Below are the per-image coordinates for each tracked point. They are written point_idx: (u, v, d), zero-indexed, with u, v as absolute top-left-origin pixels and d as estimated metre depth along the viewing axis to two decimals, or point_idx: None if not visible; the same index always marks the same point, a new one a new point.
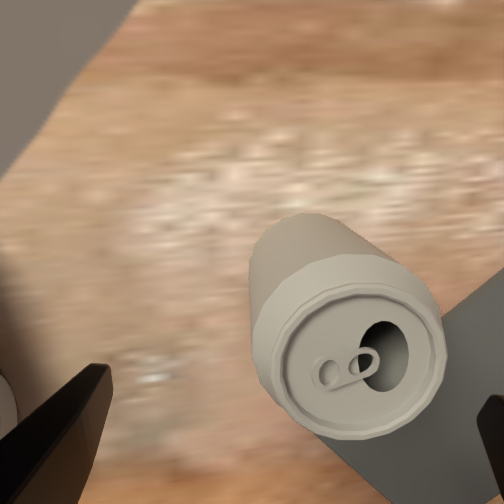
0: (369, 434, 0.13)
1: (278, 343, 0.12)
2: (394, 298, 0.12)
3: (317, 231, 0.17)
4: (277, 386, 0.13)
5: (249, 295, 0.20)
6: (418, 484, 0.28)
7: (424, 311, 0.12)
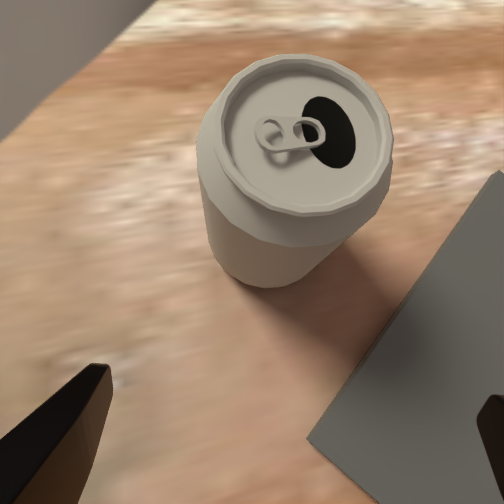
0: (334, 202, 0.11)
1: (216, 107, 0.12)
2: (319, 62, 0.13)
3: None
4: (221, 151, 0.12)
5: (206, 224, 0.19)
6: None
7: (351, 72, 0.13)
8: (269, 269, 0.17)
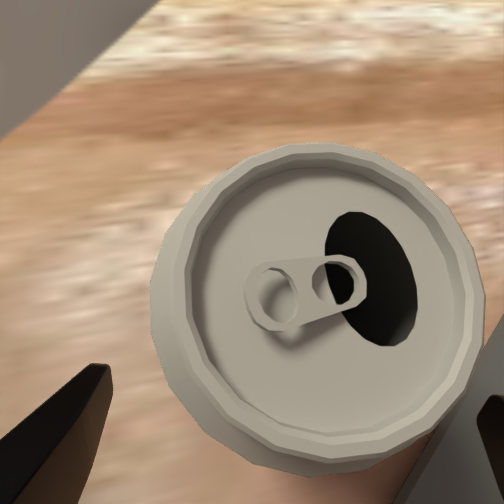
0: (391, 434, 0.06)
1: (178, 245, 0.07)
2: (354, 157, 0.08)
3: None
4: (183, 334, 0.06)
5: None
6: None
7: (406, 174, 0.08)
8: None
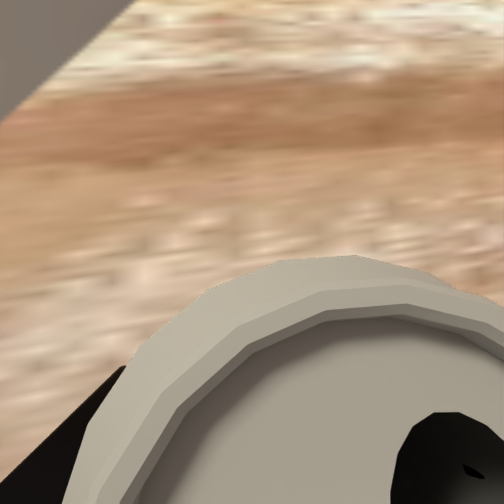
0: None
1: None
2: (448, 314, 0.04)
3: None
4: None
5: None
6: None
7: None
8: None
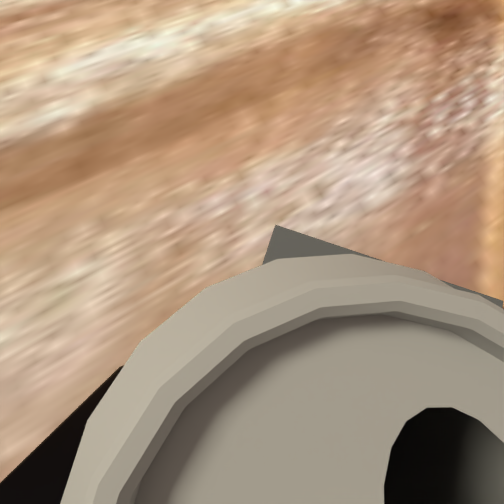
0: None
1: None
2: (441, 311, 0.04)
3: None
4: None
5: None
6: None
7: None
8: None
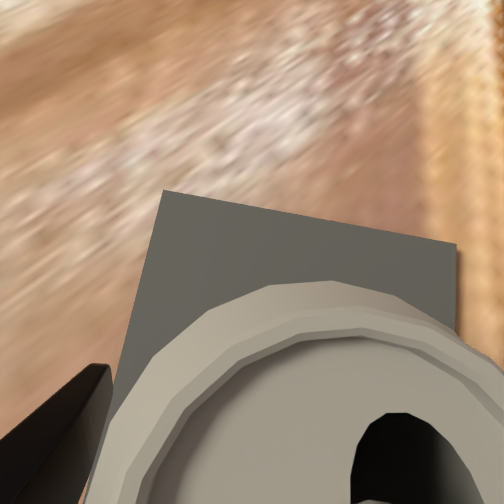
0: None
1: None
2: (396, 335, 0.05)
3: None
4: None
5: None
6: None
7: (478, 362, 0.05)
8: None
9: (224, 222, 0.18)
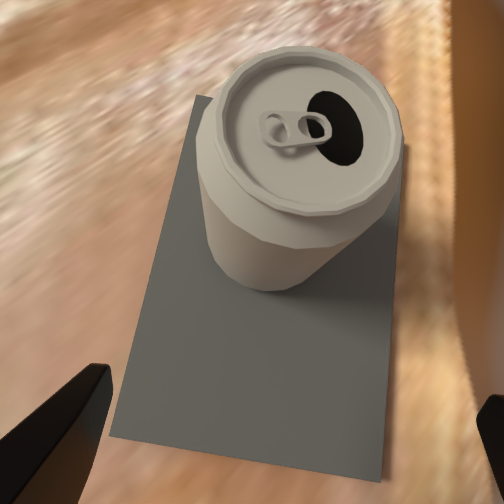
0: (341, 201, 0.11)
1: (217, 100, 0.11)
2: (325, 55, 0.12)
3: None
4: (222, 146, 0.11)
5: (205, 225, 0.19)
6: (292, 414, 0.20)
7: (358, 66, 0.12)
8: (271, 272, 0.16)
9: None
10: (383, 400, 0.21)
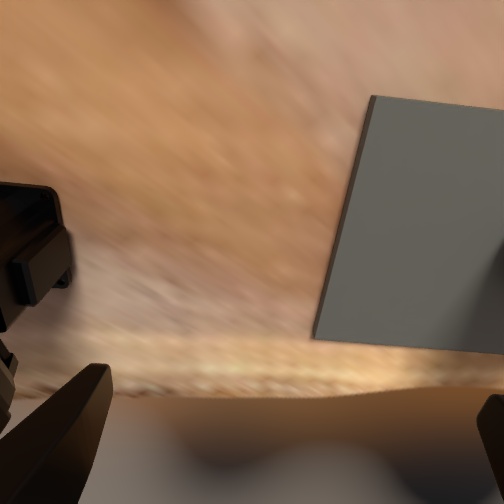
0: None
1: None
2: None
3: None
4: None
5: None
6: (375, 275, 0.21)
7: None
8: None
9: None
10: (377, 342, 0.24)
